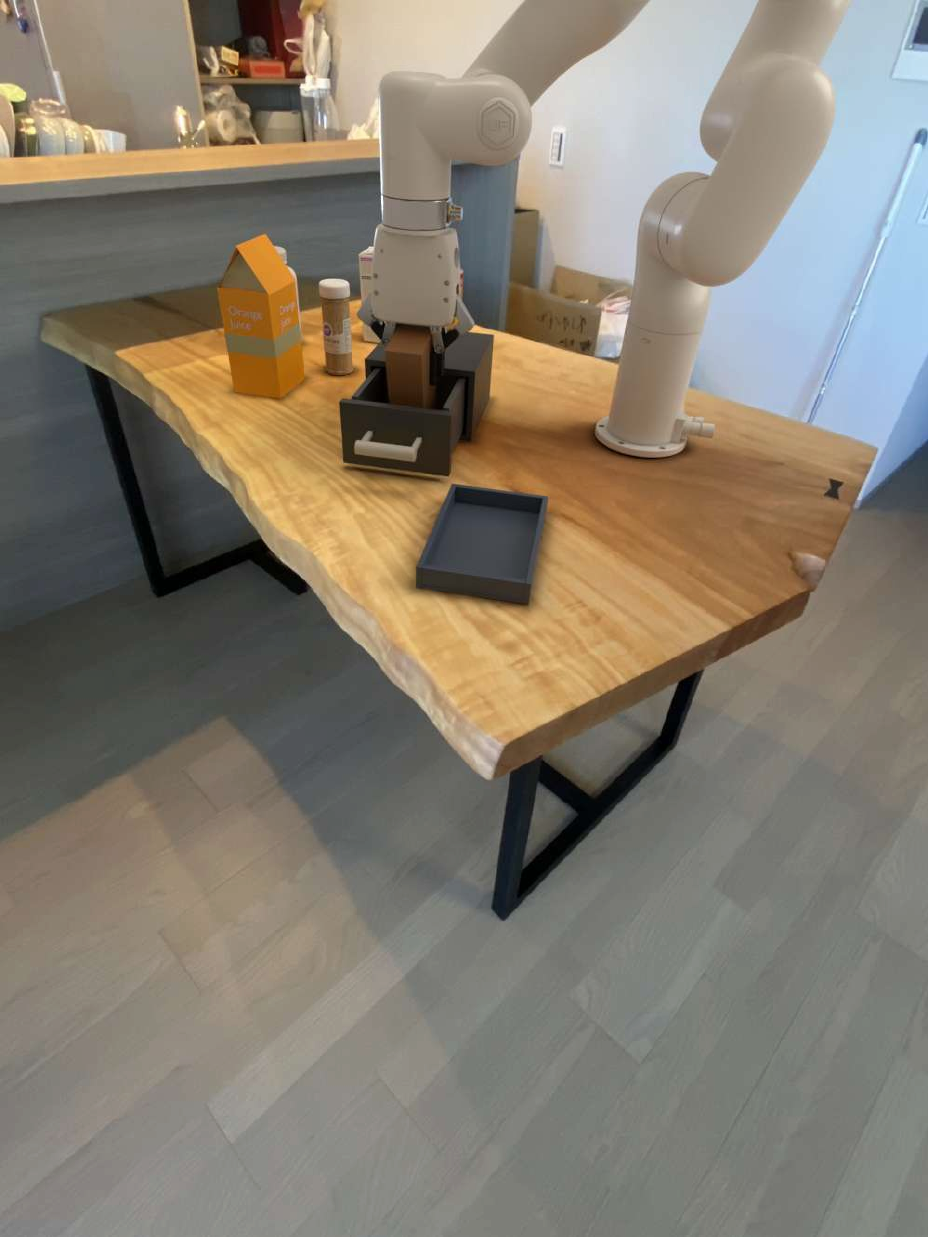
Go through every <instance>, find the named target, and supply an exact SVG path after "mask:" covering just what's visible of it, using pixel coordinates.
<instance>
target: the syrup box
mask: <svg viewBox="0 0 928 1237" xmlns="http://www.w3.org/2000/svg"><path fill="white" fill-rule="evenodd" d="M373 247H374V246H368V247H367V249H365V250H363V251H361V252H360V253H358V269H359V285H360V304H361V305H362V304H363V303H364V301H365V300H366V298H367V297H368V295H369V294H370V292H371V270H372V257H373ZM384 323H386V322H384ZM362 336H363V341H364V342H369V343H374V344H379V343H380V342H381V340H380V339H379V338H378V336H377V335H376V334H375V333H374V332H373V331H372V329H371V327H369V326H367V325H366V324H365V323H364V322H363V321H362Z"/></svg>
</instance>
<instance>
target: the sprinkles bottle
mask: <svg viewBox="0 0 928 1237" xmlns="http://www.w3.org/2000/svg"><path fill="white" fill-rule="evenodd" d="M318 292H319V293H318V294H319V296H320V301H321V315H322V335H323V349H324V357H325V359H324V360H325V372H327V373H328V374H330V375H333V376H345V375H348V374H351V373H352V372H354V366H353V364H354V363H353V339H352V320H351V319H352V318H351V310H350V309H351V308H350V307H351V306H350V298H351V297H350V296H351V288H350V282H348V281H347V280H346V279H341V278H325V279H321V280H320V281H319V282H318Z"/></svg>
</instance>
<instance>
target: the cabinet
mask: <svg viewBox="0 0 928 1237" xmlns="http://www.w3.org/2000/svg"><path fill="white" fill-rule="evenodd" d="M446 331H447V332H448V331H449V330H446ZM494 341H495V334H492V333H483V332H474V331H473V332H472V331H469V332H467V333H465V334H464V335H462V336H460V337H459V338H457V339H456V340H455V341H454V342H453V343H452V344H451V345H450V346H448V347H447V348H446V349H445V367H444V374H447V375H456V376H465V377H468V383H467V403H466V420H465V421H466V422H465V427H464V430H463V432H462V434H461V436H460V438H459V440H458V441H463V442H470V443H471V442H472V441H473V439H474V436H475V434H476V431H477V429H478V428H479V424H480V422H481V420H482V417H483V415H484V413H485V410H486V408H487V406H488V403H489V401H490V397H491V383H492V382H491V381H492V370H493V353H494ZM385 349H386V347H384V346H383V345H382V341H381V342H380V343H377V345H376V346H375V347H374V348H373V349H372V350H371V352H370V353H369V354H368V355H367V356H366V357H365V358H364V372H365V374H364V375H365V380H366V379H367V377H368V376H369V375H370V374H371V373H372V371H373V370H374V369H375V368H376V367H377V366H378V367H386V359H385Z"/></svg>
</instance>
